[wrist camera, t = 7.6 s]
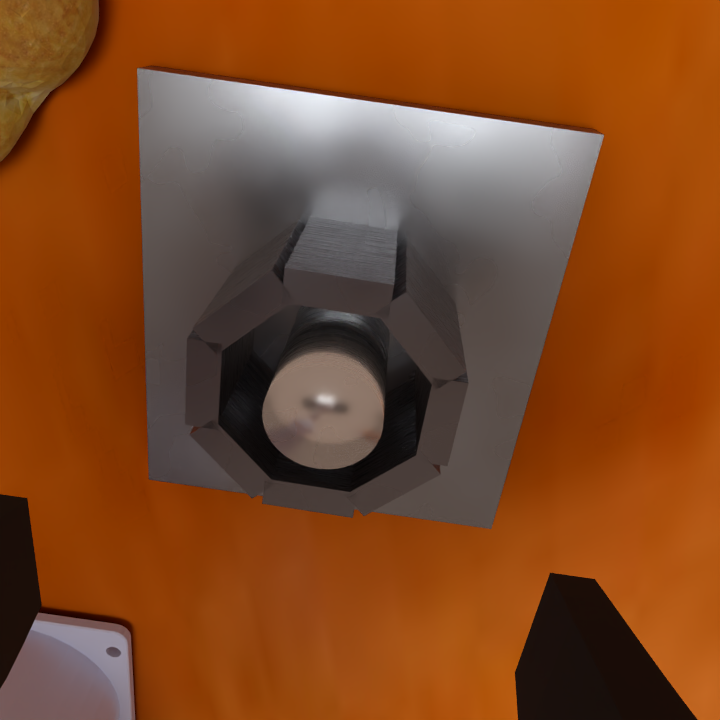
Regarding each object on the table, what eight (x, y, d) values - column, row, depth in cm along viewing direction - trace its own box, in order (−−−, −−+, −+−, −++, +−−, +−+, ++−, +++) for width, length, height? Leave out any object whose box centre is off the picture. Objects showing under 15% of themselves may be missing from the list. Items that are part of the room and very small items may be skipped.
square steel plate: (488, 510, 20) (509, 644, 16) (158, 463, 20) (89, 584, 16) (594, 129, 15) (669, 174, 10) (150, 65, 15) (44, 85, 10)
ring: (427, 441, 18) (431, 530, 15) (222, 408, 18) (183, 490, 15) (473, 242, 15) (489, 300, 12) (234, 204, 15) (189, 252, 12)
